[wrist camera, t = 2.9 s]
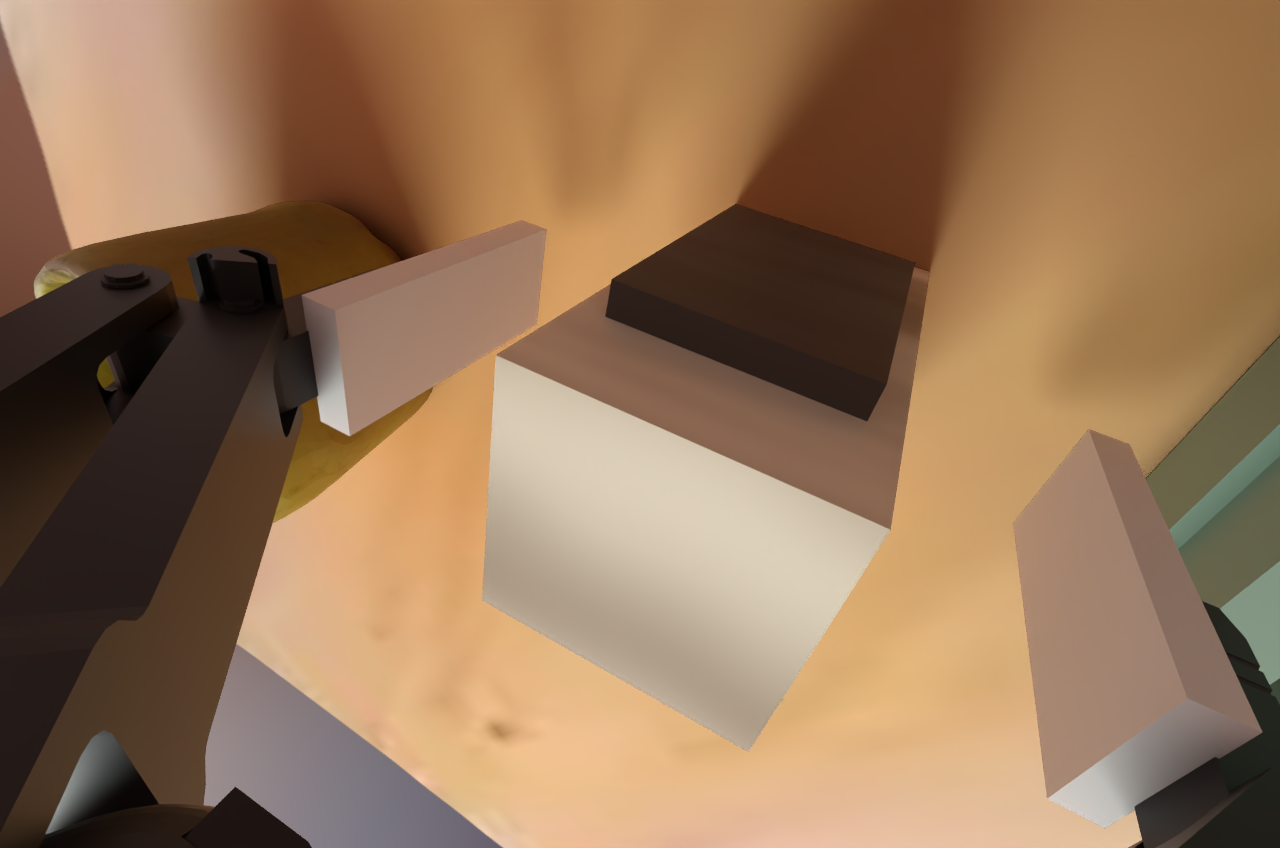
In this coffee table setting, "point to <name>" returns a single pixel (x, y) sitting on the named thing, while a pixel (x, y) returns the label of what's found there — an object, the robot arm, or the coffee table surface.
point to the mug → (307, 259)
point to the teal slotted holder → (1233, 508)
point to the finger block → (705, 461)
